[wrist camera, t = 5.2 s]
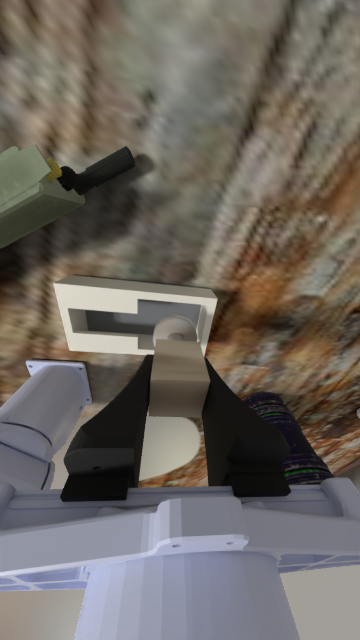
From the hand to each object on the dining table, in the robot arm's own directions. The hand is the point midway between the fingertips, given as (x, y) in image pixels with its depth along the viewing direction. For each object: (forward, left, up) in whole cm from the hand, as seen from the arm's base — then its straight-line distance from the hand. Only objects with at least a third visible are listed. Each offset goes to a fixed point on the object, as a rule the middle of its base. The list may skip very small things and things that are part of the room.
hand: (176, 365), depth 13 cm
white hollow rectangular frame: (0, +5, -10) cm, 11 cm away
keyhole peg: (0, 0, -4) cm, 5 cm away
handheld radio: (+9, +16, -10) cm, 21 cm away
